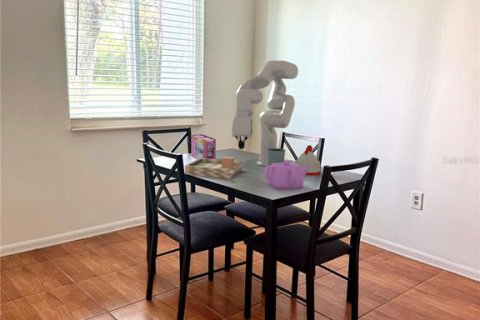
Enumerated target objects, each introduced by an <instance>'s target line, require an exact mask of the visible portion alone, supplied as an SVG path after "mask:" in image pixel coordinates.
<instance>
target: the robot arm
mask: <svg viewBox="0 0 480 320" xmlns="http://www.w3.org/2000/svg"><path fill="white" fill-rule="evenodd" d="M298 75H299V67H298V66H297V65H296V64H295V63H293V62H290V61H286V60H268V61H266V62H265V64H264V65H263V66H262V67H261V69H260V70H259V71H258V73H257V74H256V75H255V76H252V77H251V78H249V79H247V80H245V81H244V82H243V83H242V84H241V85H240V86H239V87H238V89H237V90H236V94H235V98H236V100H235V101H236V102H235V115H234V117H233V121H232V127H231V133H232V134H231V137H233V138H235V139H236V140H237V141H238V142H237V145H238V149H239V150H244V148H245V146H246V145H245V144H246V143H245V142H246V141H247V140H249V139H252V138H253V136H252V135H253V132H254V131H253V130H254V129H253V128H254V127H253V125H254V124H253V116H251V115H254V112H253V111H251V107H252V105H258V104H260V103H262V101H263V99H264V98H263V96H264V95H263V92H262V91H260V89H261V90H262V89H264V88H267V87H269V86H270V85H271V90H270V93H269V96H268V99H267V108H268V109H267V110H265V109H264V110H263V111H262V112H261V113H260V114H259V125H260V143H259V146H260V147H259V160H258V161H256V165H258V166H263V167H265V166H267V149H269V148H278V147H277V143H278V133H277V130H276V129H286V128H287V127H288V126H289V124H290V123H291V118H292V115H293V113H294V110H295V105H296V104H295V103H296V102H295V98H294V96H293V95H291V94H286V92H287V86H286V84H285V82H284V81H283V79H284V80H294V79H296V78H298ZM271 83H272V84H271ZM275 128H276V129H275Z"/></svg>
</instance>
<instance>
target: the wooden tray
mask: <svg viewBox="0 0 480 320" xmlns="http://www.w3.org/2000/svg"><path fill="white" fill-rule="evenodd" d="M241 171H243V161H236V160H234V167H232V168H223V167H222V159H216V160H214V159H204V158H201V159H196V160H194V161H192V162H190V163H187V164H185V165H184V175H190V176H198V177H199V176H200V177H209V178H219V179H231V178H233V177H234V176H235V175H237V174H239V173H240V172H241Z"/></svg>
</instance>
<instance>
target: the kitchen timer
mask: <svg viewBox="0 0 480 320" xmlns="http://www.w3.org/2000/svg"><path fill="white" fill-rule="evenodd" d="M313 148H314V147H312V145H306V148H305V150H304V152H302V153H301V154H300V155H299V157H298V158H297V159H295V162H294V163H295V164H298V165H300V166H301V167H302V169H303V168H304V167H305V166H307V167H309V169H308V171H307V172H306V174H305V176H309V177H310V176H318V175H319V176H320V174H321V161H320V160H319V159H318V158H317V156H316V155H315V154H314V152H312V151H313Z"/></svg>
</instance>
